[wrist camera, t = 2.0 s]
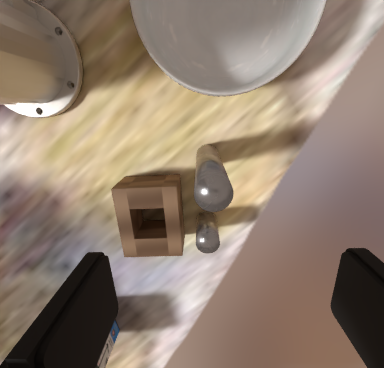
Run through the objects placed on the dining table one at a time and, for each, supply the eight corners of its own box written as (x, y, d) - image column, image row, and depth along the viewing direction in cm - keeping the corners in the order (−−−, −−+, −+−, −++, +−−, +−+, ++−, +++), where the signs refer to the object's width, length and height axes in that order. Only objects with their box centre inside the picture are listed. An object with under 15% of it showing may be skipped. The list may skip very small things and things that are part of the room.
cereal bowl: (151, 99, 28) (135, 96, 21) (139, -77, 22) (113, -156, 15) (286, 97, 27) (314, 95, 20) (309, -83, 21) (359, -168, 15)
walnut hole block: (124, 176, 31) (111, 189, 27) (179, 174, 31) (176, 186, 26) (134, 236, 35) (124, 257, 30) (184, 235, 34) (182, 255, 29)
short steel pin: (196, 211, 33) (195, 233, 27) (216, 210, 33) (219, 232, 27) (197, 228, 34) (196, 253, 28) (216, 228, 34) (219, 253, 28)
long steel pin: (196, 145, 29) (192, 176, 16) (218, 143, 29) (233, 174, 16) (197, 166, 30) (195, 212, 17) (218, 165, 30) (233, 211, 17)
